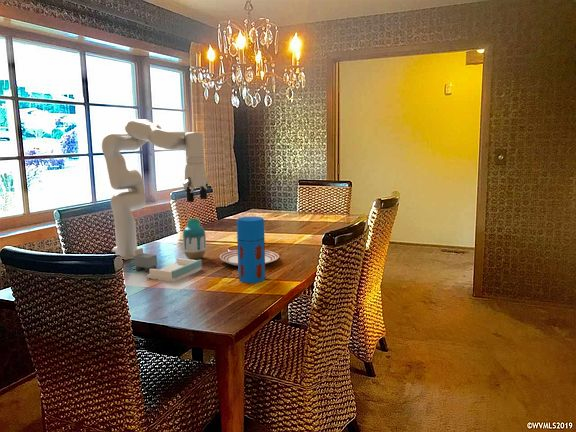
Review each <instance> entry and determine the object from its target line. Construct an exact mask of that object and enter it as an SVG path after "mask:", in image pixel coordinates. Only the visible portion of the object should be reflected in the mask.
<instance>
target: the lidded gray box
mask: <svg viewBox="0 0 576 432" xmlns="http://www.w3.org/2000/svg"><path fill="white" fill-rule="evenodd" d="M157 259H158V258H157V254H152V253H144V247H139V248H137V249H136V250H134V259H133V266H134V267H135V271H137V270H138V271H141V270H144V271H145V273H148V272H149V269H157V266H158V260H157ZM138 271H137V272H138Z"/></svg>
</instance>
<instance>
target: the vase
mask: <svg viewBox="0 0 576 432" xmlns="http://www.w3.org/2000/svg"><path fill="white" fill-rule="evenodd" d="M186 225H187V226H186V227H184V229H183V233H182V244H183V245H182V246H183V252H184V255H185V257H186V259H190V260H200V259H201V258H203V257H204V256H205V254H206V252H207V251H206V250H207V249H206V248H207V241H206V240H207V239H206V231H205V228H204V227H203V226H201V224H200V219H199V218H196V217H194V218H188V219H187V224H186Z"/></svg>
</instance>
